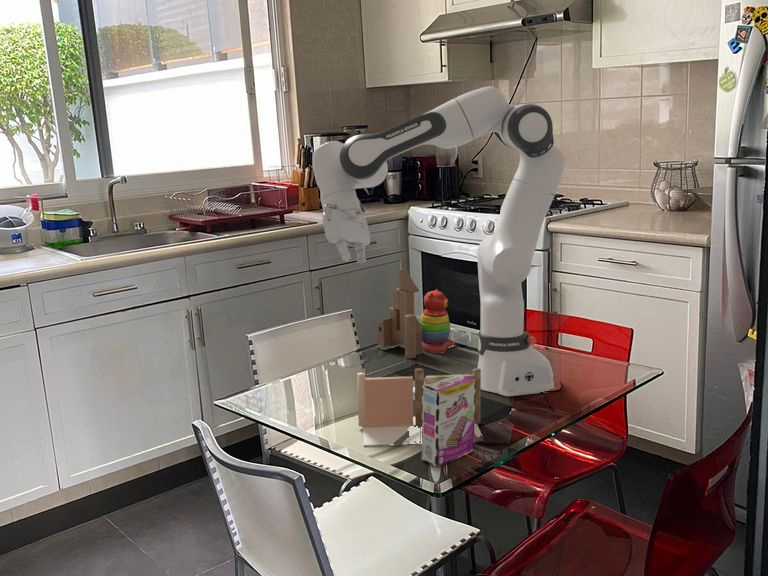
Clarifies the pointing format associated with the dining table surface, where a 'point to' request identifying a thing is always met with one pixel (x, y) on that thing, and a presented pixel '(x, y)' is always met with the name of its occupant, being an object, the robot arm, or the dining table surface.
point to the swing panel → (385, 400)
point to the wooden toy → (402, 319)
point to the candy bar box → (447, 419)
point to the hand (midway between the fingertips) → (354, 261)
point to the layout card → (393, 434)
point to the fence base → (429, 379)
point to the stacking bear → (435, 323)
